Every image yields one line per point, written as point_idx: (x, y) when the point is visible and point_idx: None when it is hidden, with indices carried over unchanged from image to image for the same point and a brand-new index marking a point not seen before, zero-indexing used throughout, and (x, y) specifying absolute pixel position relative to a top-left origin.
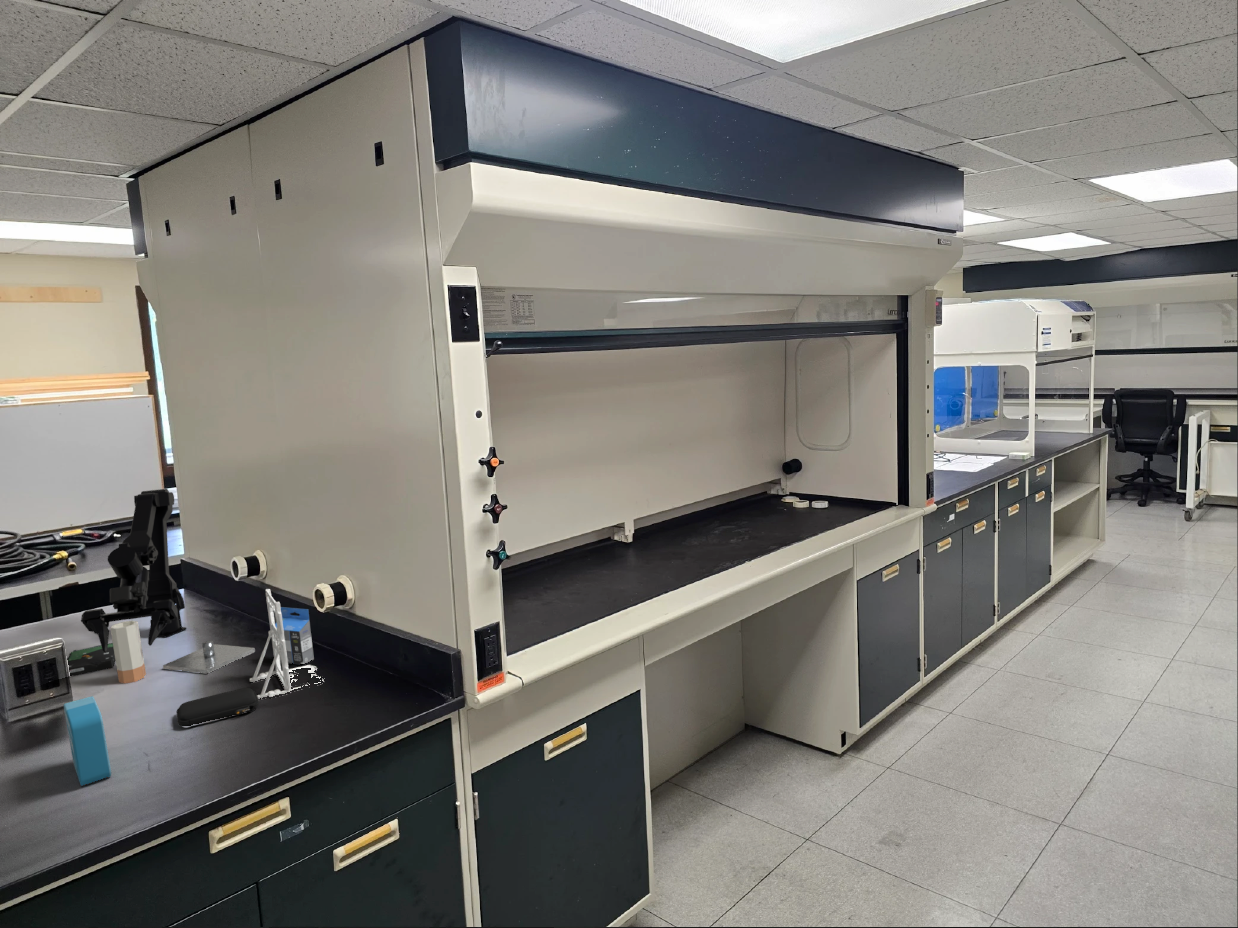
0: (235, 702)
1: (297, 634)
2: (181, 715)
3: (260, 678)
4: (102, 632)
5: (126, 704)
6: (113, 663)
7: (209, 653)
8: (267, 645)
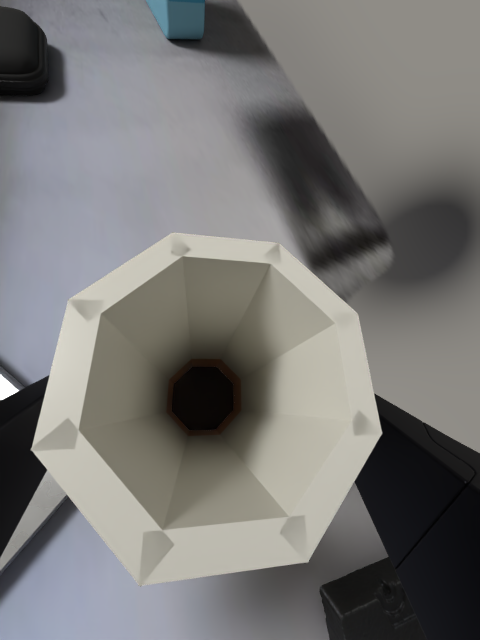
0: None
1: None
2: (28, 18)
3: None
4: (434, 449)
5: (176, 204)
6: (332, 628)
7: None
8: None
